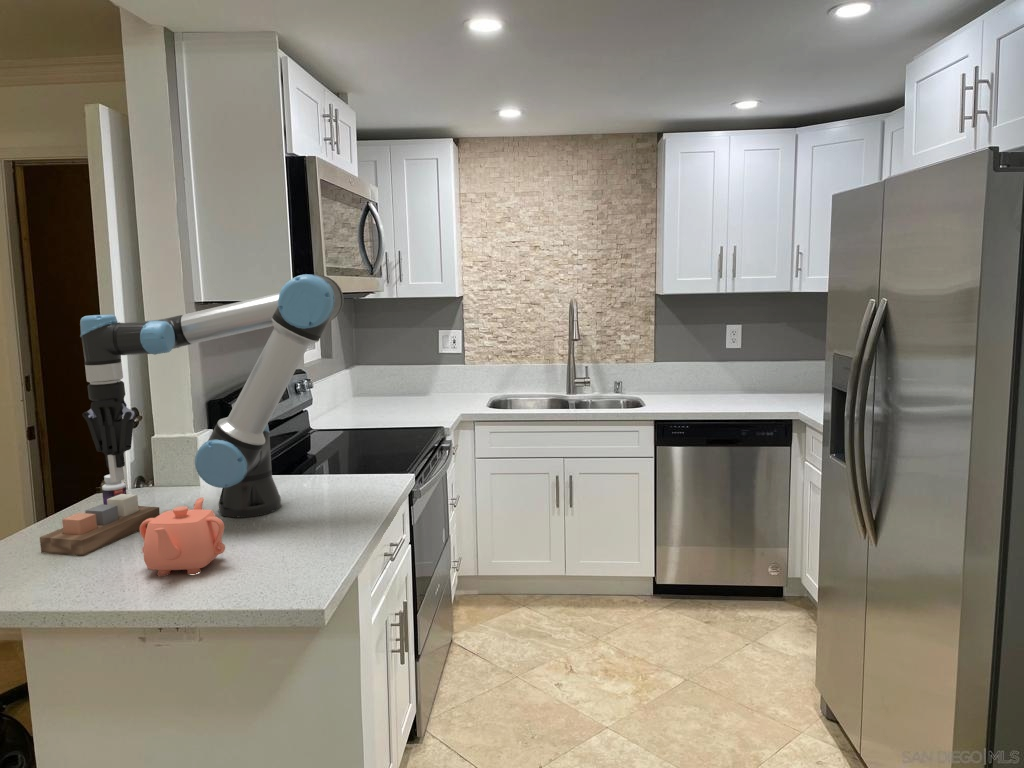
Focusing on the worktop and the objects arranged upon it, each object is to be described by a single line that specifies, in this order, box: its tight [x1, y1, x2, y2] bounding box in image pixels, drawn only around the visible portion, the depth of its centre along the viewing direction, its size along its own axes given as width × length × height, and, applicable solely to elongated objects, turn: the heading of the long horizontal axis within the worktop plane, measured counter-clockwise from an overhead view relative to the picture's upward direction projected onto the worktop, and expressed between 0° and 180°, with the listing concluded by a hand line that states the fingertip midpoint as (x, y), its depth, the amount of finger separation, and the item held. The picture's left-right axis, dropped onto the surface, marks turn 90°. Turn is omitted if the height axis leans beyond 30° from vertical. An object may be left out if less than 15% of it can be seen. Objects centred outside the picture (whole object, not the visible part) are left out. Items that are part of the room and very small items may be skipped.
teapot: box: [139, 497, 226, 577], centre depth 154 cm, size 15×17×13 cm
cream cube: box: [107, 493, 139, 517], centre depth 181 cm, size 5×5×5 cm
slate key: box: [84, 504, 119, 526], centre depth 175 cm, size 5×5×5 cm
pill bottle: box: [101, 473, 127, 505], centre depth 193 cm, size 5×5×10 cm
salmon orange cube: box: [61, 512, 97, 535], centre depth 168 cm, size 5×5×5 cm
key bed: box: [39, 505, 161, 557], centre depth 175 cm, size 11×24×4 cm, turn 166°
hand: (117, 480), depth 178 cm, fingers closed
